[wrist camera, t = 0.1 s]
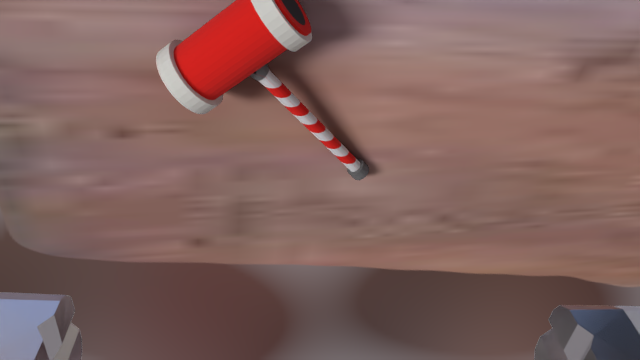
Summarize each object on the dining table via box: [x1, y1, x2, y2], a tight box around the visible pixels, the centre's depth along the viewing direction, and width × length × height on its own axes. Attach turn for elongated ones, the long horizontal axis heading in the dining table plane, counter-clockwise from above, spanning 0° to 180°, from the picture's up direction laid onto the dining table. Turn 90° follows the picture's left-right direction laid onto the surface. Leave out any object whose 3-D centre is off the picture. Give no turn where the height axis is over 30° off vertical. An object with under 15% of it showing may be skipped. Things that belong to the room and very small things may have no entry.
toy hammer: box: [156, 0, 369, 180], centre depth 50 cm, size 23×12×6 cm, turn 36°
